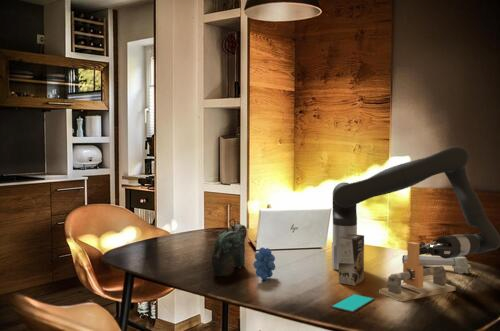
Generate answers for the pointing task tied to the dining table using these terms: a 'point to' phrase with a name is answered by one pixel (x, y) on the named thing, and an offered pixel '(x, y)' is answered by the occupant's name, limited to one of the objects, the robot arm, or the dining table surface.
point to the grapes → (264, 263)
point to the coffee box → (351, 259)
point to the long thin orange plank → (413, 265)
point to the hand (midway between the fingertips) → (415, 251)
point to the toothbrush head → (445, 262)
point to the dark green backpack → (229, 248)
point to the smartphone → (352, 303)
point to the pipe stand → (412, 292)
